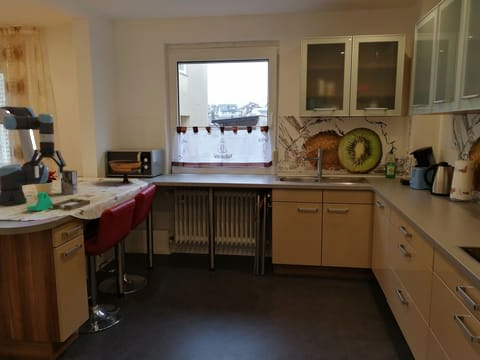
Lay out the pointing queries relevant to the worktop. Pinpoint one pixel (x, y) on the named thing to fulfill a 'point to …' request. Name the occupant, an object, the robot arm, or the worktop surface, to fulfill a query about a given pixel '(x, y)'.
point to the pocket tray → (71, 204)
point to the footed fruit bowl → (125, 168)
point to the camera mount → (41, 202)
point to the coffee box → (69, 182)
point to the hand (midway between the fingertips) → (48, 178)
